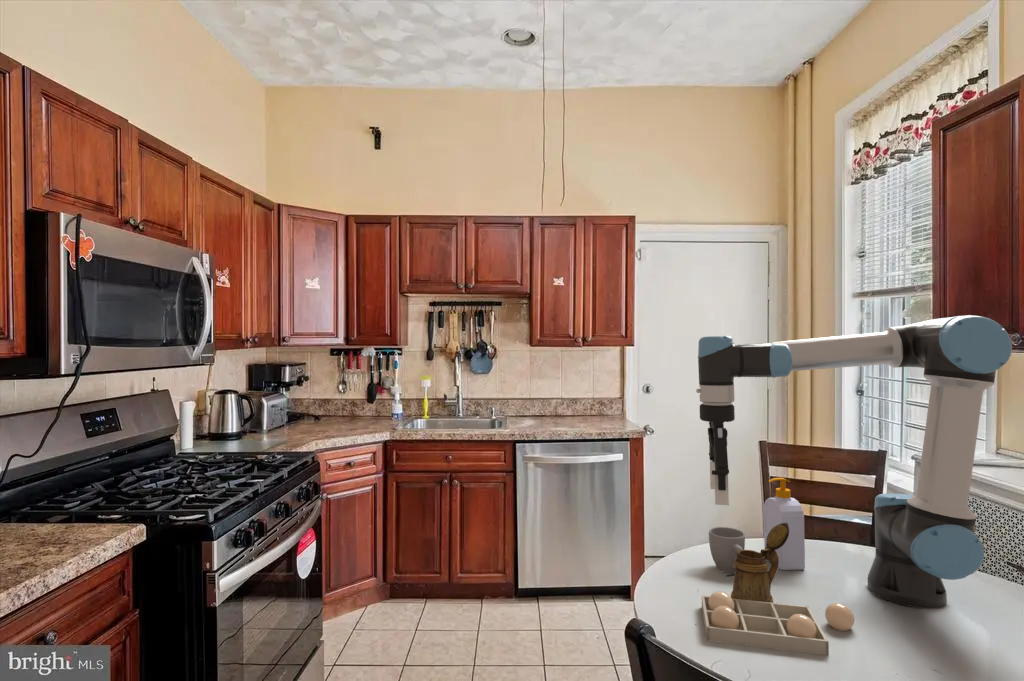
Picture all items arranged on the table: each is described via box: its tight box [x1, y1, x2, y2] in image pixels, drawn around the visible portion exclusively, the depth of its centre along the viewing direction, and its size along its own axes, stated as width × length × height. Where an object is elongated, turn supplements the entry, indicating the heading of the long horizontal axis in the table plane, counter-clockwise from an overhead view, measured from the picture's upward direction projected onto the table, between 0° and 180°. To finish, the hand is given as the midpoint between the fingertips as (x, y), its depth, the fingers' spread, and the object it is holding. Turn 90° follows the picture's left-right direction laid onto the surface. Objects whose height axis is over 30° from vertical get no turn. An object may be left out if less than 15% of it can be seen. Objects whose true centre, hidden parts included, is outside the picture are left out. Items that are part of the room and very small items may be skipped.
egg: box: [824, 602, 855, 632], centre depth 114 cm, size 5×5×5 cm
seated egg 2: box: [711, 606, 739, 630], centre depth 111 cm, size 5×5×5 cm
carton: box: [701, 595, 830, 656], centre depth 113 cm, size 22×14×3 cm
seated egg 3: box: [787, 614, 817, 639], centre depth 108 cm, size 5×5×5 cm
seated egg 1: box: [708, 590, 734, 611], centre depth 118 cm, size 5×5×5 cm
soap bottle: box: [763, 477, 806, 571], centre depth 148 cm, size 9×7×23 cm
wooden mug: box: [730, 523, 789, 603], centre depth 126 cm, size 9×14×18 cm, turn 95°
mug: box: [708, 526, 746, 574], centre depth 144 cm, size 12×9×10 cm
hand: (719, 496), depth 126 cm, fingers open, 13 cm apart
